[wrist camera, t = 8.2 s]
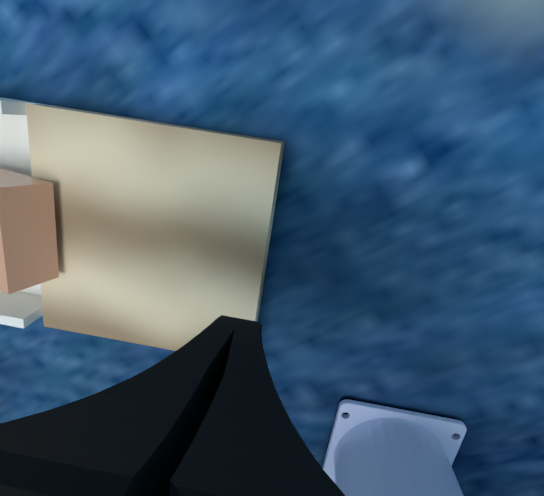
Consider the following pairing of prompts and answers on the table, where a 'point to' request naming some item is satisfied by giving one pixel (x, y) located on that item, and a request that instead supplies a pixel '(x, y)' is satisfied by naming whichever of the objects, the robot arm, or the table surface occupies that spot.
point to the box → (16, 157)
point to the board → (152, 223)
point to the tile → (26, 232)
